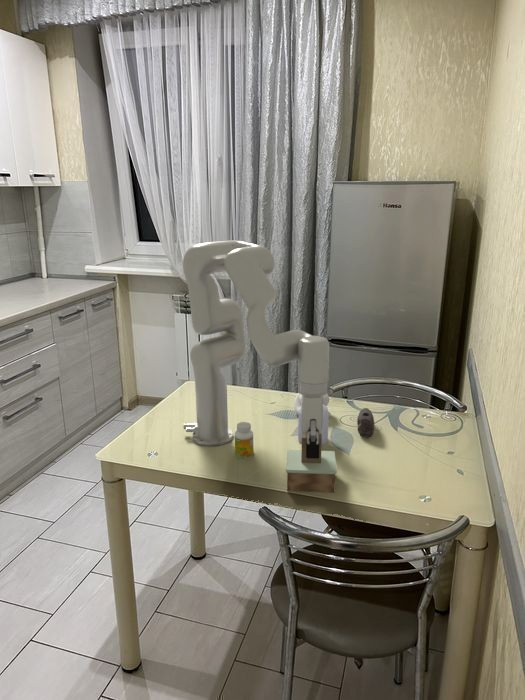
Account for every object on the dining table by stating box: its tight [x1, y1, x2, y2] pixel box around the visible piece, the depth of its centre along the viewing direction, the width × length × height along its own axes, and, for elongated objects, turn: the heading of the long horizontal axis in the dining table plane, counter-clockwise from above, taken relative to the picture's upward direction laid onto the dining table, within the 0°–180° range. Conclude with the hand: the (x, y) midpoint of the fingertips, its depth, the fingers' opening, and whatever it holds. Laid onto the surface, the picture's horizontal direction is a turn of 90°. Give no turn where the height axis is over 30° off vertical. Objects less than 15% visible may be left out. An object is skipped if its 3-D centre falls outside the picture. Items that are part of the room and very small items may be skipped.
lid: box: [285, 433, 338, 475], centre depth 136 cm, size 13×11×8 cm
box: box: [286, 473, 336, 494], centre depth 138 cm, size 12×10×6 cm
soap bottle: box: [297, 404, 330, 446], centre depth 159 cm, size 9×9×25 cm
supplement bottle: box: [234, 421, 254, 459], centre depth 152 cm, size 5×5×10 cm
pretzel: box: [293, 393, 330, 416], centre depth 179 cm, size 11×12×9 cm
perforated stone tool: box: [356, 407, 375, 439], centre depth 168 cm, size 15×5×7 cm, turn 169°
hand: (312, 448), depth 136 cm, fingers open, 9 cm apart
